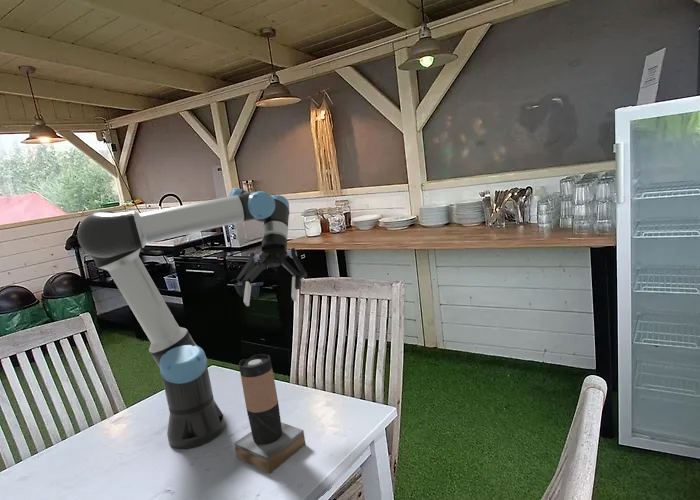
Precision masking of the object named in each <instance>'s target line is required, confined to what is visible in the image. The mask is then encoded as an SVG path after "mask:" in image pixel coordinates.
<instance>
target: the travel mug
mask: <svg viewBox="0 0 700 500" xmlns="http://www.w3.org/2000/svg"><path fill="white" fill-rule="evenodd" d="M238 367H239V373H240V378H241V384H242V385H241V386H242V389H243V390H242V391H243V396H244V402H245V403H244V404H245V408H246V412H247V417H248V422H249V426H250V432H252V436H253V440H254V442H255V443H257V444H260V445H266V444H270V443H273V442H275V441H277V440H278V439H279V438H280V437H281V435H282V427H281V422H282V421H281V420H282V419H281V413H280V405H279V400H278V393H277V387H276V383H275V376H274V370H273V366H272V359H271V357H270V355H269V354H265V353H259V354H254V355H252V356H251V357H249V358H247V359H244V358H243V359H241V360H239V363H238Z"/></svg>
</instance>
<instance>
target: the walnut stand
mask: <svg viewBox="0 0 700 500" xmlns="http://www.w3.org/2000/svg"><path fill="white" fill-rule="evenodd" d="M281 427H282V435H281V437H280V438H279V439H278V440H277V441H275V442H273V443H270V444H266V445H260V444H257V443H255V442H254V440H253V436H252V432H251V431H250V432H249V433H247V434H245V435H244V436H242V437H241V438H240V439H238V440H237V441H235V442H234V443H233V445H234V449H235V453H236V458H237V459H238V460H241V461H243V462H245V463H247V464H249V465H251V466H253V467H255V468H257V469H260V470H261V471H263V472H266V473H268V474H272V473H273V471H275V470H276V469H278V468H279V467H280V466H281V465H282V464H283V463H285V462H287V461H288V460H289V459H291V457H292V456H294V455H296V453H297V452H299V451H300V450H301V449H302V448H304V447H305V446H306V437H305V430H304V429H302V428H298V427H295V426H293V425H290V424H288V423H286V422H282V421H281Z"/></svg>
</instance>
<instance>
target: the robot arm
mask: <svg viewBox="0 0 700 500" xmlns="http://www.w3.org/2000/svg"><path fill="white" fill-rule="evenodd" d="M289 218H290V204H289V200H288V199H287V198H286V197H285V196H283V195H280V194H278V195H276V194H273V195H271V194H270V193H268V192H267V191H263V190H258V191H257V190H256V191H247V190H244V189H242V188H238V187H234V188H232V189H231V191H229V195H228V196H226V197H220V198H216V199H210V200H204V201H201V202H200V201H199V202H194V203H189V204H183V205H178V206H173V207H167V208H161V209H158V210H153V211H146V212H141V213H139V212H137V211H135V210H130V211H124V212H114V211H112V210H99V211H96V212H94V213H91V214H89V215H88V216H87V217H86V218H84V219H83V220H82V221H81V223H80V224H79V226H78V229H77V240H78V244H79V245H80V247H81V248H82V250H83V251H85V253H87V254H88V255H90V256H91V257H92V259H93V261H94V262H95V264H96V265H97V267H98V269H101V270H105V271H107V272H108V273H109V275H110V276H111V278H112V280H113V282H114V283H115V285H116V287H117V289H118V290H119V292H120V293H121V295H122V296H123V298H124V300H125V301H126V303H127V304H128V306H129V308H130V311H132V313H133V315H134V316H135V318H136V320H137V322H138V323H139V325H140V326H141V329H142V330H143V332H144V333H145V335H146V336H147V339H148V340H149V342H150V345H149V348H148V351H149V353H150V355H151V356H152V357H153V359H154V362H155V363H156V365H157V367H158V368H159V373H160V376H161V379H162V383H163V389H164V393H165V396H166V401H167V406H168V410H169V417H168V425H167V432H166V433H167V435H166V437H167V440H168V444H169V445H170V446H171V447H173V448H176V449H191V448H195V447H199V446H202V445H204V444H207V443H209V442H211V441H212V440H214V439H215V438H217V437H218V436H220V435H221V434H222V432H223V431H224V430H225V428H226V421H225V420H226V419H225V416H224V413H223V411H222V410H221V408H220V407H219V406H218V404H217V402H216V401H215V398H214V394H213V387H212V383H211V377H210V373H209V369H208V368H209V367H208V359H207V358H208V357H207V356H206V353H205V351H204V350H203V348H202V347H201V346H199V345H197V343H196V342H195V341H194V339H193V338H192V335H191V334H190V332H189V330H188V329H187V328H185V327H183V326H182V327H181V326H179V324H178V322H177V321H176V319H175V317H174V315H173V314H172V312H171V310H170V308H169V306H168V305H167V304H166V301H165V299H164V297H163V296H162V295H161V294H162V293H160V291H159V289H158V287H157V286H156V284H155V282H154V280H153V279H152V277H151V275H150V274H149V271H148V270H147V268H146V267H145V265H144V263H143V260H142V259H141V258H140V252H141V250H142V249H143V248H145V246H146V245H147V244H149V243H152V242H157V241H162V240H166V239H170V238H175V237H180V236H184V235H188V234H193V233H198V232H202V231H206V230H207V231H209V230H211V229H217V228H221V227H225V226H230V225H234V224H239V223H244V222H249V221H254V220H255V221H256V222H257V221H258V222H261V223H263V230H262V240H261V249H260V250H261V252H260V253H257V254H255V253H254V252H251V253H250V254H249V258H248V260H247V261H246V264H244V267H243V268H242V269H241V271H240V272H239V274H238V275H237V277H236V281H237V282H238V284H239V285H241V293H242V295H243V303H244V305H245V306H246V307H250V301H251V294H252V293H251V292H252V285H251V283H252V282H253V281H254V280H255V279H256V278H257V277H258V276H259V275H260V274H261V273H262V272H263V271H264V270H266V269H267V268H269V269H270V268H273V267H274V268H275V267H276V268H278V267H280V266H283V268H284V269H286V270H287V272H289V274H290V275H292V277H291V292H290V293H291V294H290V295H291V296H290V297H291V300H292V301H293V302H297V298H298V297H297V295H298V290H300V289H301V285H302V284H301V282H302V279H306V278H308V273H307V272H306V269H305V268H304V266H303V264H302V263H301V261H300V259H299V257H298V253H297V250H296V249H295V248H294V247H293V248H291V250H289V251H288V249H287V248H288V237H289V236H288V233H289ZM288 257H289V258H291V259H293V261H294V263H295V265H296V266H297V268H298V271H297V270H296V269H295V268H294V267H293V266H292V265H291V264H290V263H289V262H288V261H287V260H286V259H287V258H288ZM256 263H257V264H256Z"/></svg>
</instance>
